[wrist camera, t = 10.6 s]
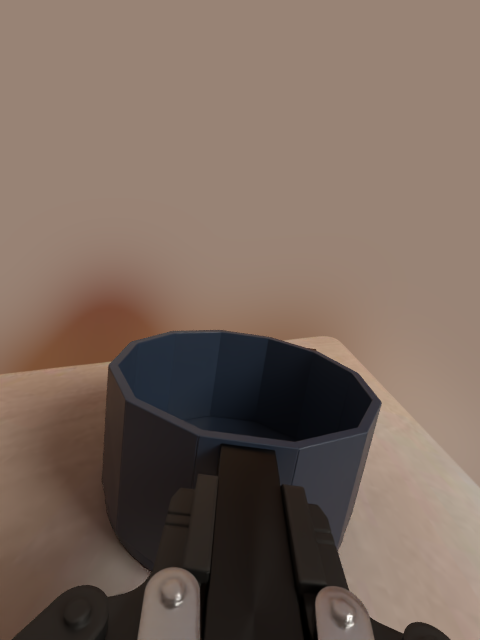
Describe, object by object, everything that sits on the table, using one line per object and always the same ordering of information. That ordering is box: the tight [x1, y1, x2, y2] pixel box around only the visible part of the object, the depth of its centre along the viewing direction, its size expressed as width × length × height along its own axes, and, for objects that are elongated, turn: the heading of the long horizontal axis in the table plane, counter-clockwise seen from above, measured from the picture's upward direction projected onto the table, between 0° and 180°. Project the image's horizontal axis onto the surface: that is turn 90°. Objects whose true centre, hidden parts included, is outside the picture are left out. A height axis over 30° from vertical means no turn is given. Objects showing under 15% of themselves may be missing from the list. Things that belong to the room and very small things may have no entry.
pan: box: [102, 330, 382, 640], centre depth 16 cm, size 15×28×8 cm, turn 0°
